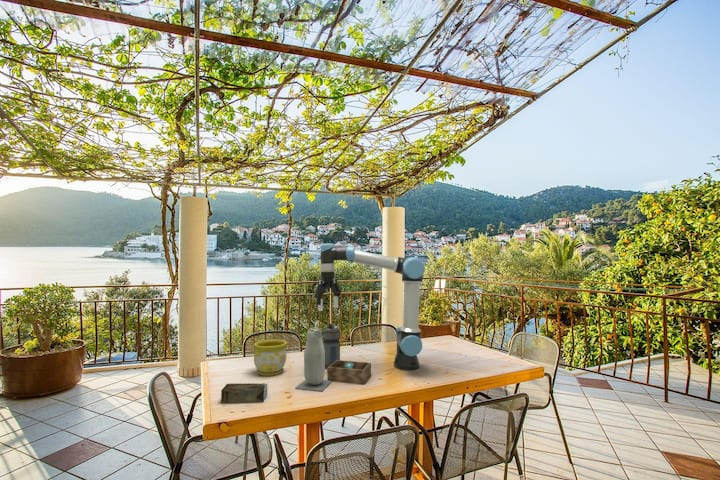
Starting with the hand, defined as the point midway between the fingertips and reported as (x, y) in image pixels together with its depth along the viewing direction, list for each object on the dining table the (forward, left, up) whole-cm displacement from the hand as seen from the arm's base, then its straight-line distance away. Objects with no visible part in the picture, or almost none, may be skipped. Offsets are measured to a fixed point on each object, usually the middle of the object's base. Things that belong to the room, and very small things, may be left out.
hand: (328, 309), depth 196 cm
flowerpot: (+32, +7, -36) cm, 49 cm away
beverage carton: (+23, +44, -36) cm, 61 cm away
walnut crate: (-14, +4, -36) cm, 38 cm away
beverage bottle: (+3, -13, -36) cm, 38 cm away
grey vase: (0, +18, -35) cm, 40 cm away
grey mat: (0, +19, -36) cm, 40 cm away
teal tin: (-13, +2, -35) cm, 37 cm away
